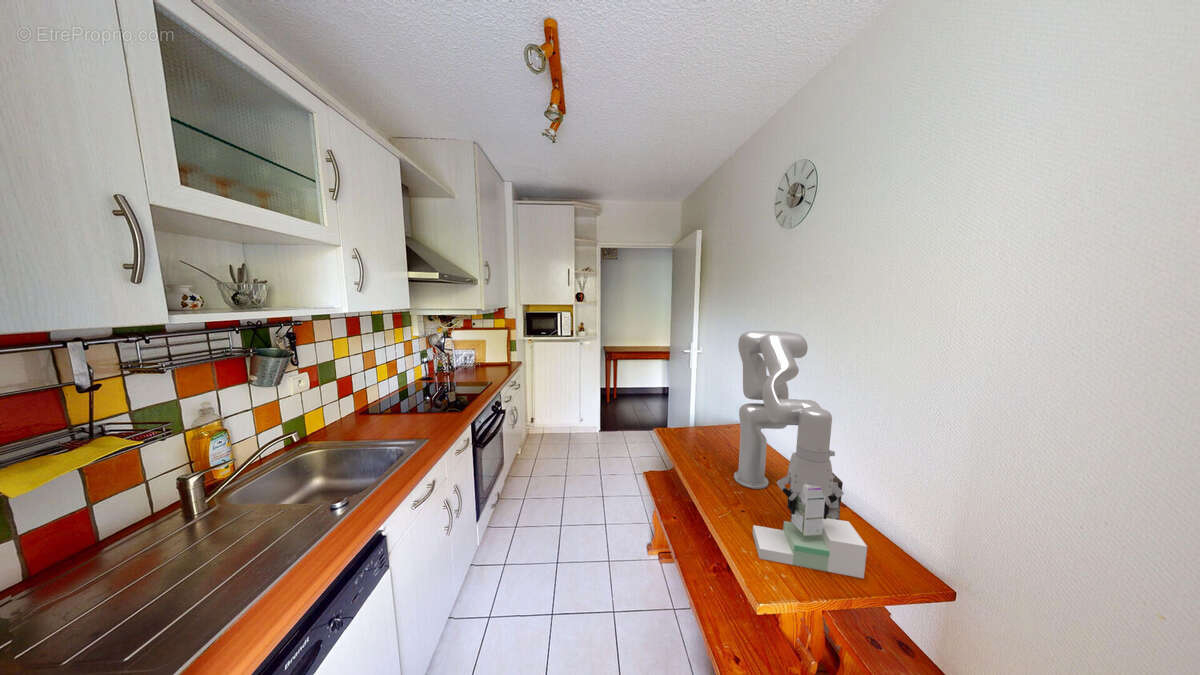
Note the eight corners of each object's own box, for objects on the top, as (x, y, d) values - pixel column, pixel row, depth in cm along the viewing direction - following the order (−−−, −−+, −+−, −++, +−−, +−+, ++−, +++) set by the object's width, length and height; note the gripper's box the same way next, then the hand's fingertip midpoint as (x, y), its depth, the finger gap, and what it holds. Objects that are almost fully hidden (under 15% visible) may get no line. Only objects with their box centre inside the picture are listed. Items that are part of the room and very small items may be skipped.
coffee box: (839, 531, 103) (843, 482, 101) (816, 528, 104) (820, 480, 103) (825, 513, 112) (829, 468, 110) (804, 510, 113) (808, 466, 111)
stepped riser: (752, 534, 102) (754, 506, 101) (846, 550, 95) (848, 521, 94) (759, 559, 92) (761, 529, 91) (864, 579, 85) (867, 547, 84)
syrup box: (823, 535, 90) (827, 485, 88) (802, 536, 90) (807, 485, 88) (808, 521, 96) (812, 474, 94) (789, 522, 95) (792, 474, 94)
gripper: (842, 451, 92) (836, 510, 94) (773, 443, 96) (769, 500, 98) (855, 463, 84) (849, 528, 86) (780, 455, 89) (776, 516, 91)
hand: (807, 513), depth 92 cm, fingers closed on syrup box, 7 cm apart
